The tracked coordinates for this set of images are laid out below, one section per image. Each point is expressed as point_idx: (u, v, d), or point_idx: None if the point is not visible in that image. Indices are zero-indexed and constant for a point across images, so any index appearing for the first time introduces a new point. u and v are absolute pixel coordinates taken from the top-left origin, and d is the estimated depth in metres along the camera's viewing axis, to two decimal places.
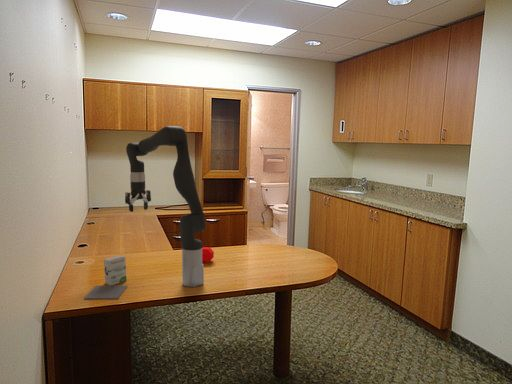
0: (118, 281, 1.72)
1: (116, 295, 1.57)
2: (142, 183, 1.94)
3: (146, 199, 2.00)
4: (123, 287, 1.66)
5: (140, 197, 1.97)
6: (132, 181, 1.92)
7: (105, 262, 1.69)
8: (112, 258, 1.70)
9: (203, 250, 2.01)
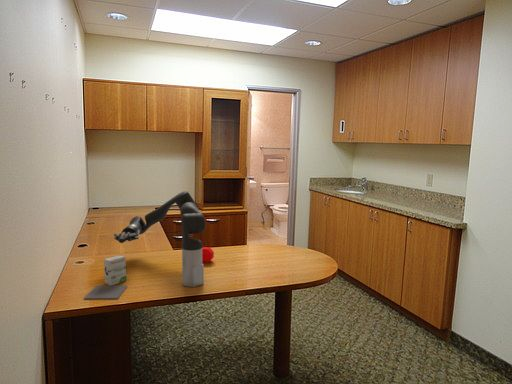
0: (118, 281, 1.72)
1: (116, 295, 1.57)
2: None
3: None
4: (123, 287, 1.66)
5: None
6: (137, 233, 1.98)
7: (105, 262, 1.69)
8: (112, 258, 1.70)
9: (203, 250, 2.01)
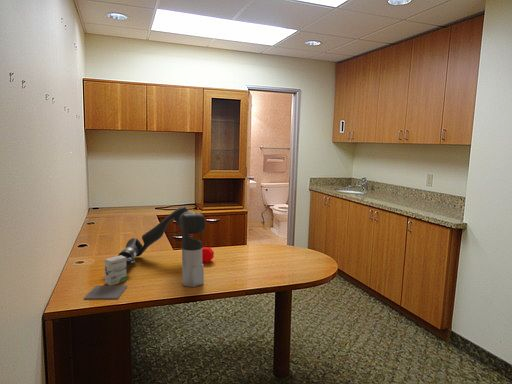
0: (118, 281, 1.71)
1: (116, 295, 1.57)
2: None
3: None
4: (123, 287, 1.66)
5: None
6: (134, 257, 1.92)
7: (106, 262, 1.68)
8: (113, 259, 1.69)
9: (203, 250, 2.01)
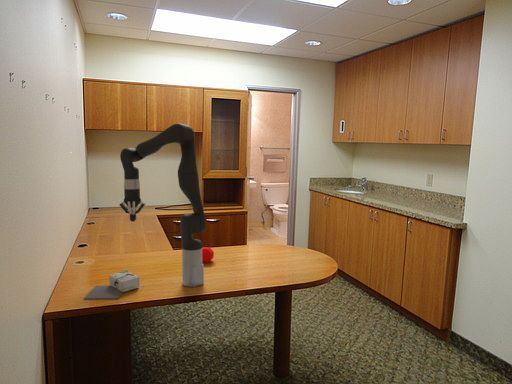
0: None
1: (116, 295, 1.57)
2: None
3: None
4: None
5: None
6: (139, 187, 1.87)
7: (120, 285, 1.61)
8: (128, 287, 1.62)
9: (203, 250, 2.01)
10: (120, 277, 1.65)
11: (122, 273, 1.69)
